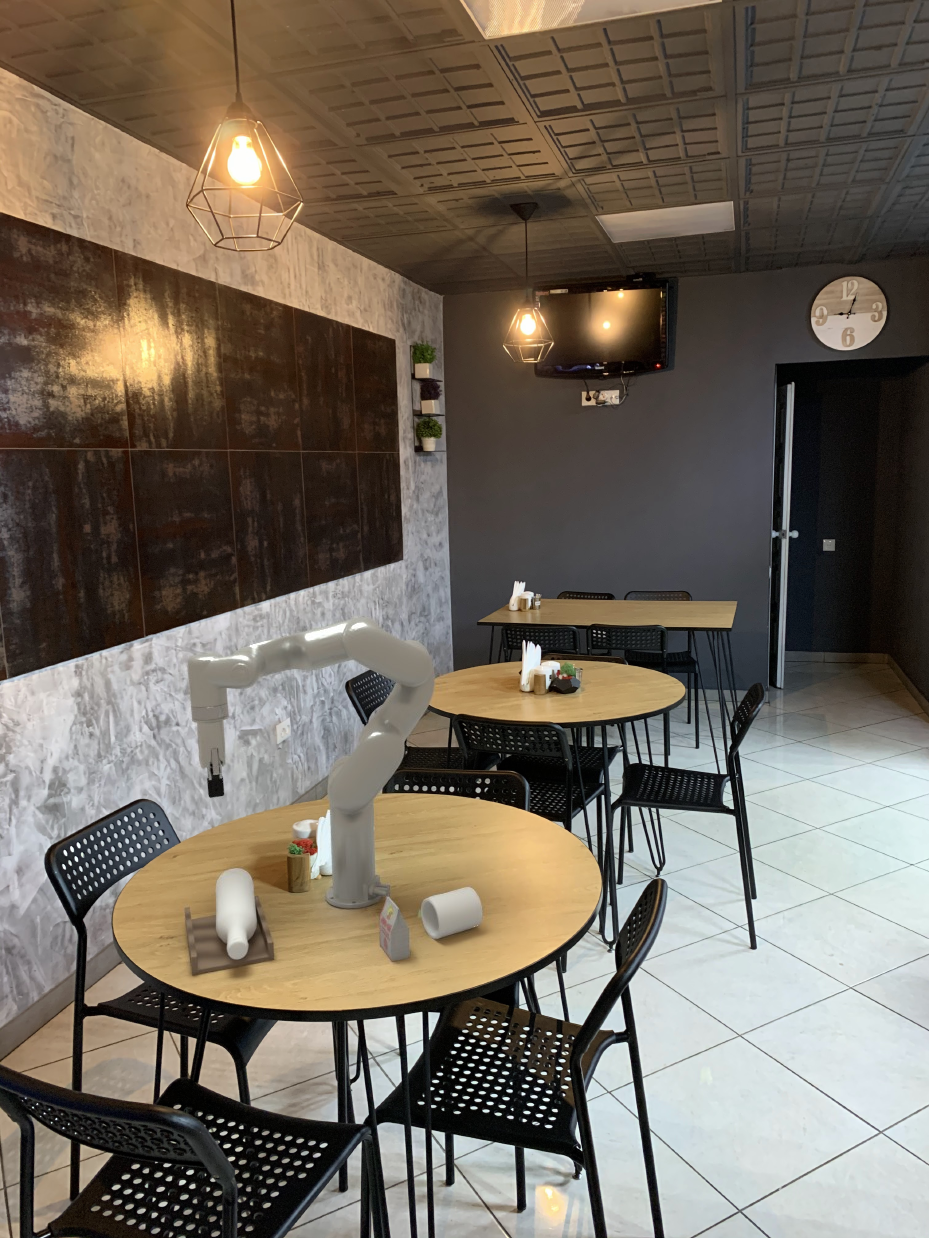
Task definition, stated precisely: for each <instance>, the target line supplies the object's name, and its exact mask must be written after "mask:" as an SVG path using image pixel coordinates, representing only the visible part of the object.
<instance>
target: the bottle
mask: <svg viewBox="0 0 929 1238" xmlns="http://www.w3.org/2000/svg"><path fill="white" fill-rule="evenodd" d="M254 889H255V885H254V881H253V878H252V875H251V874H250V873H249V872H248V871H246V870H245V869H244V868H237V867H234V868H229V869H227V870H225V871H223V872H222V873H221V874H220V876H219V877H218V879H217V881H216V884H215V915H216V931H217V934H218V936H219V937H220V938H221V939H222V941H223V942H225V943H226V944H227V952H228V955H229V956H230V957H231V958H233V959H241V958H243V957H244V956H245V955H246V954H247V951H248V942H247V941H248V940H249V939H250V938H251V937H252V936H253V934H254V932H255V930H256V926H257V918H256V908H255V898H254V896H255V890H254Z"/></svg>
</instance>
